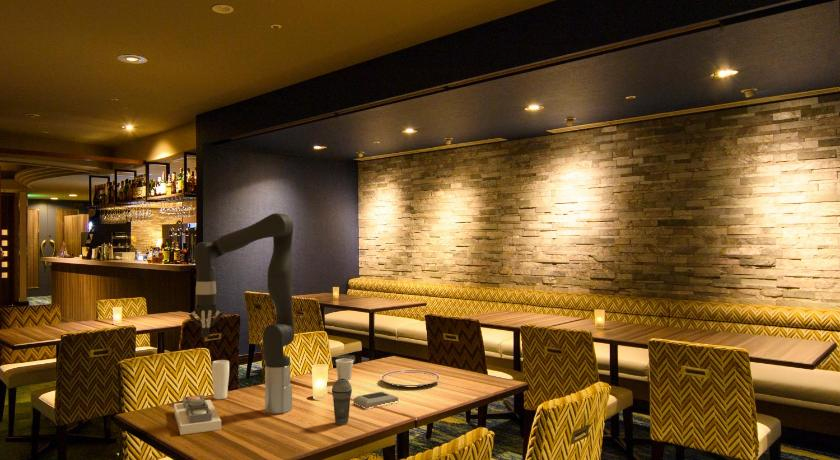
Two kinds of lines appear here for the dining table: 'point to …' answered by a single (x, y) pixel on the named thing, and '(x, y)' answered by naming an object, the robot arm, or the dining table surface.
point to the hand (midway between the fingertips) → (205, 337)
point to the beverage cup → (341, 399)
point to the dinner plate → (410, 372)
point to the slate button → (196, 403)
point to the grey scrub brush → (374, 399)
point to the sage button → (199, 412)
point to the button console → (196, 417)
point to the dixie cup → (344, 368)
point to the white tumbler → (220, 378)
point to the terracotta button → (193, 398)
